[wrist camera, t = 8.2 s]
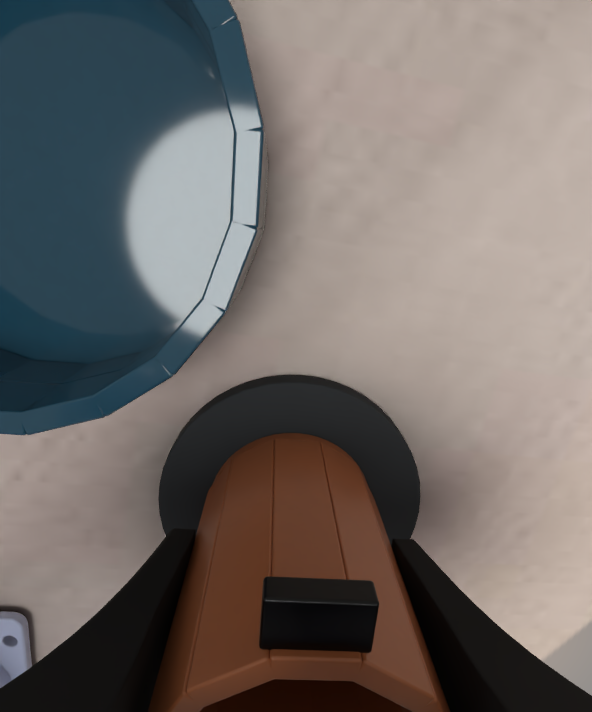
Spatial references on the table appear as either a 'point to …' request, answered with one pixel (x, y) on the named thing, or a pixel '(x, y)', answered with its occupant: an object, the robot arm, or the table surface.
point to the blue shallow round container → (119, 197)
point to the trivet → (291, 415)
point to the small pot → (294, 595)
